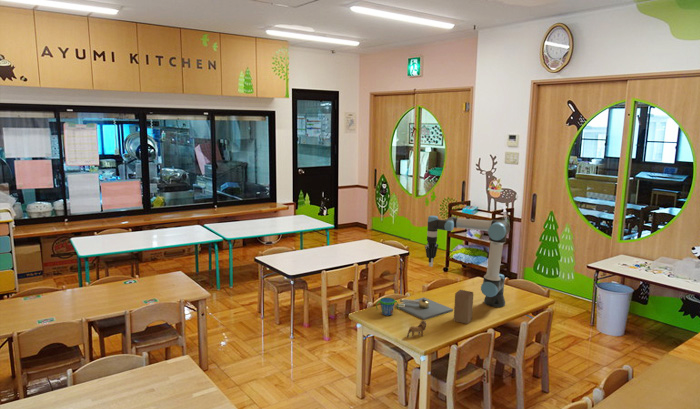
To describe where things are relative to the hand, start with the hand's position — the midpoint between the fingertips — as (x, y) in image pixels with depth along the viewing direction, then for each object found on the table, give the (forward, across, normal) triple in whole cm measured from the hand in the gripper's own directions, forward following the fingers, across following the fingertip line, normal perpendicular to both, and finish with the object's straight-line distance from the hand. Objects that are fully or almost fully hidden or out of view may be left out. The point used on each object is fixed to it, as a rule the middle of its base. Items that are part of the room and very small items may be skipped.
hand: (430, 266), depth 376 cm
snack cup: (+25, +50, +8) cm, 56 cm away
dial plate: (+24, +22, +16) cm, 37 cm away
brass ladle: (+23, +26, +10) cm, 36 cm away
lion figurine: (+25, +58, +45) cm, 78 cm away
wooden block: (+25, +15, +46) cm, 54 cm away
